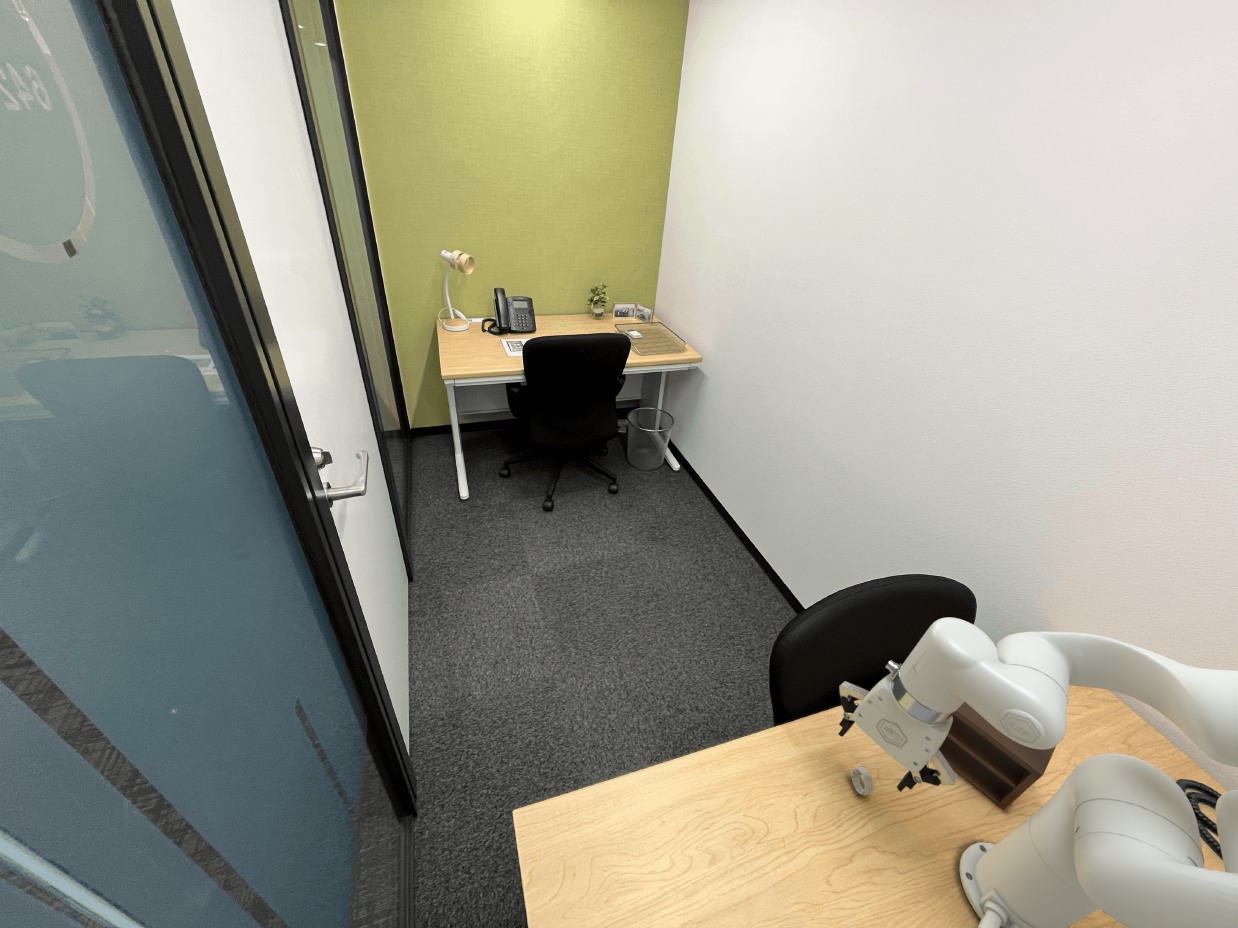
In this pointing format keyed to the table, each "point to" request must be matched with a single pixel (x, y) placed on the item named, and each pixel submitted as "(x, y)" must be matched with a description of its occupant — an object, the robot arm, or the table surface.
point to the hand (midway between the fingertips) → (872, 756)
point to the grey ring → (867, 779)
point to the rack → (991, 757)
